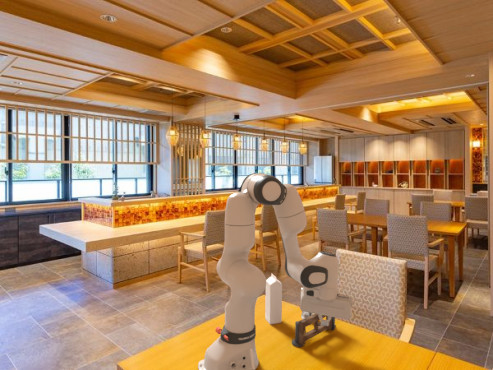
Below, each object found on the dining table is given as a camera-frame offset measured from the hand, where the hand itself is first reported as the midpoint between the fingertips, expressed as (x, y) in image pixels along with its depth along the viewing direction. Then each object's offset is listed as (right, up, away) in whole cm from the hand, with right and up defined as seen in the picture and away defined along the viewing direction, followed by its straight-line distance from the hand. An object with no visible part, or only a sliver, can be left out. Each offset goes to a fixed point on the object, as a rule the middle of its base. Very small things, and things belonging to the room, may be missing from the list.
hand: (324, 325), depth 134 cm
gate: (-2, -8, +7) cm, 10 cm away
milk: (-19, -8, +22) cm, 30 cm away
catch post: (-10, -9, +3) cm, 14 cm away
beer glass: (-2, -7, +25) cm, 27 cm away
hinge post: (+5, -8, +17) cm, 19 cm away
